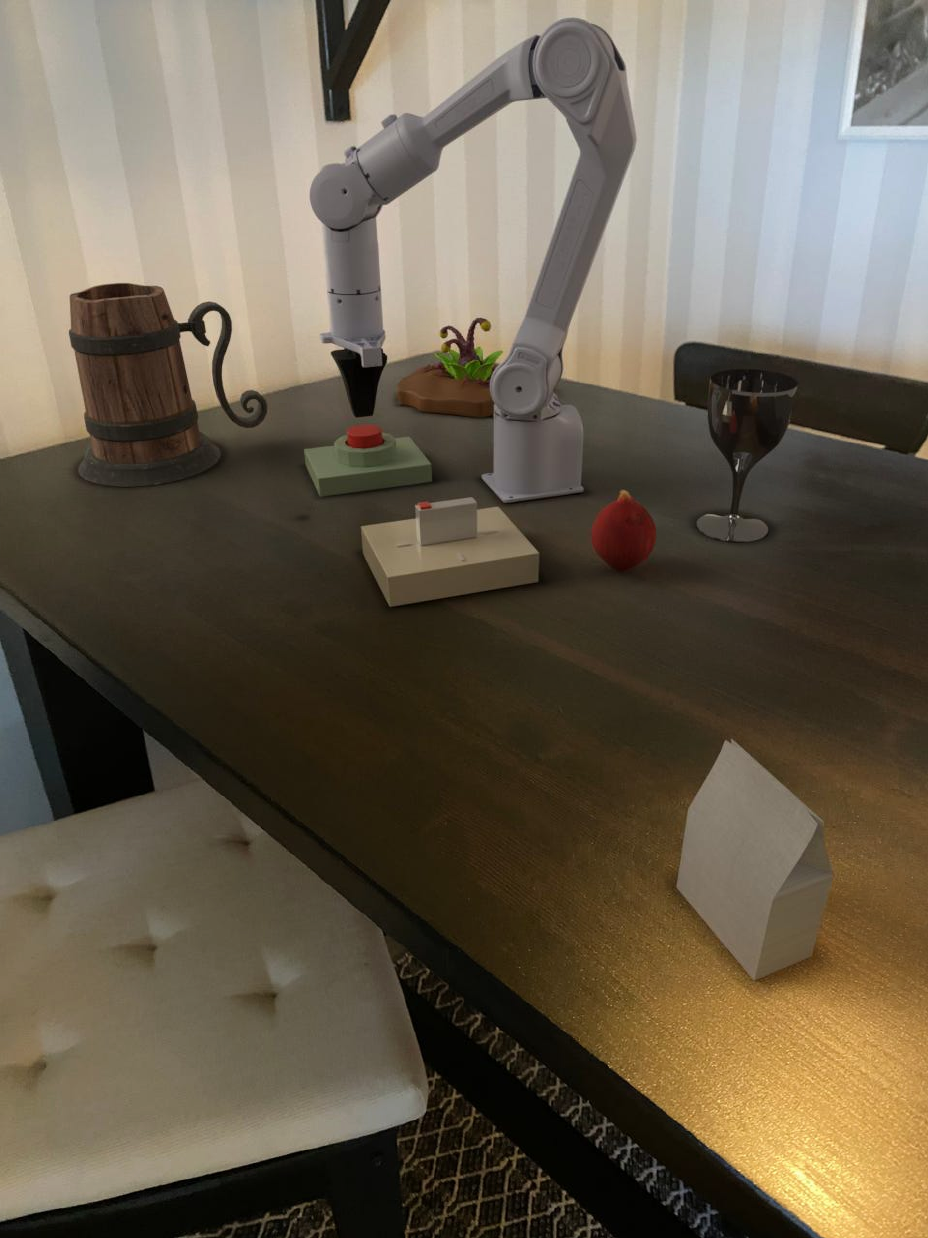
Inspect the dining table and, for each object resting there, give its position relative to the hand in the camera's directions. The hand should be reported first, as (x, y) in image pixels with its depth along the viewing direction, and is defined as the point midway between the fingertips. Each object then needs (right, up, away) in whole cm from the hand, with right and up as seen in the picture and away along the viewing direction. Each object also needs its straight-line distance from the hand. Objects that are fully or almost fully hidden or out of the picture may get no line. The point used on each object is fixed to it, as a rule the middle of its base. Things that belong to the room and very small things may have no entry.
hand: (363, 414), depth 102 cm
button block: (0, -6, +4) cm, 7 cm away
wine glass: (+39, -14, -10) cm, 42 cm away
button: (0, -3, +2) cm, 3 cm away
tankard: (-24, -3, +10) cm, 26 cm away
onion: (+26, -19, -18) cm, 37 cm away
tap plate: (+10, -18, -17) cm, 27 cm away
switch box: (+10, -16, -19) cm, 26 cm away
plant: (+12, +9, +30) cm, 33 cm away
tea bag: (+26, -40, -53) cm, 72 cm away
